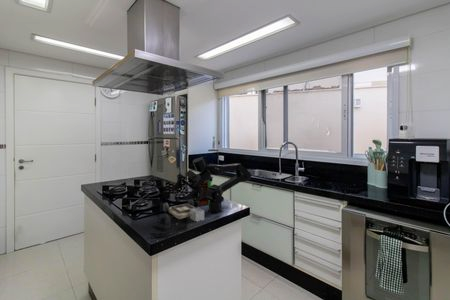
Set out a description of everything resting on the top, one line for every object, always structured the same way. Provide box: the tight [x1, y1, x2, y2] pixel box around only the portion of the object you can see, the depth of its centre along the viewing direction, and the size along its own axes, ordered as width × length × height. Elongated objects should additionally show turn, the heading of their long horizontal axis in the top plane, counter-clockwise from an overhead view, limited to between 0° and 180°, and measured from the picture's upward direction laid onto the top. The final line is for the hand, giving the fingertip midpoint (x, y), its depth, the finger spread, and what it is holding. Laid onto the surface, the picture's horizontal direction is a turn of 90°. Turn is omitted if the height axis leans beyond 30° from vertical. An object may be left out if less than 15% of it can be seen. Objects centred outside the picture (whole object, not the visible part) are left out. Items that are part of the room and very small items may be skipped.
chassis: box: [162, 199, 196, 220], centre depth 129 cm, size 17×18×5 cm
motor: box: [195, 180, 212, 206], centre depth 145 cm, size 10×9×20 cm
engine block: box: [189, 206, 205, 222], centre depth 118 cm, size 5×6×5 cm
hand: (176, 195), depth 113 cm, fingers open, 9 cm apart
